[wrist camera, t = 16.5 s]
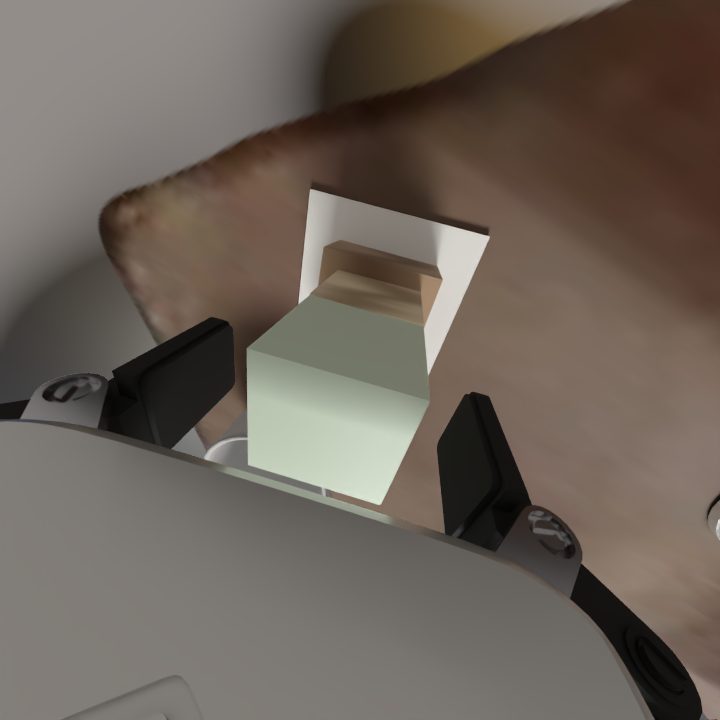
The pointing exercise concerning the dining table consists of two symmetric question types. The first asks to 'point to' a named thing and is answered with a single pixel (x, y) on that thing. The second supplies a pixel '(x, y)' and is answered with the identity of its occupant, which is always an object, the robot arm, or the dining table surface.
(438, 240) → the white mat
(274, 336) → the sage block
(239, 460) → the teacup
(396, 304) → the maple block
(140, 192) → the dining table surface
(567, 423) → the dining table surface
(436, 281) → the walnut base brick
